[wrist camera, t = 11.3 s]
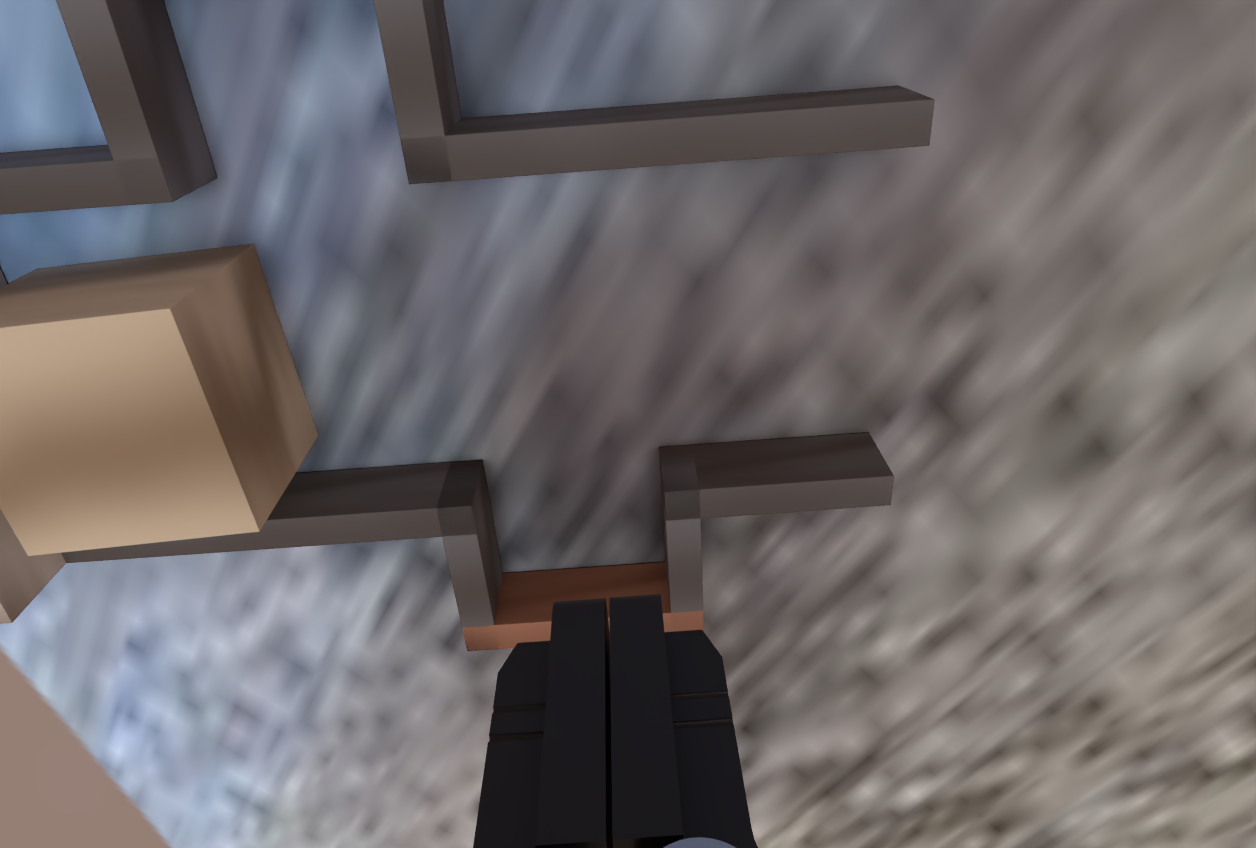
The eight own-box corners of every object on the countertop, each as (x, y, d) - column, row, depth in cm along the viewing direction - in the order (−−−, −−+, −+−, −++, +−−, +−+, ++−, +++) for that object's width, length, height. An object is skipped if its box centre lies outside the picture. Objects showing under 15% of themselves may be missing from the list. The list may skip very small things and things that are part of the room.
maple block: (39, 267, 22) (-99, 339, 18) (255, 242, 22) (169, 308, 18) (127, 454, 25) (28, 556, 21) (319, 433, 25) (259, 531, 21)
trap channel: (-187, -45, 19) (-431, -50, 14) (917, -130, 18) (1016, -162, 14) (131, 622, 28) (44, 742, 24) (856, 572, 28) (903, 682, 24)
